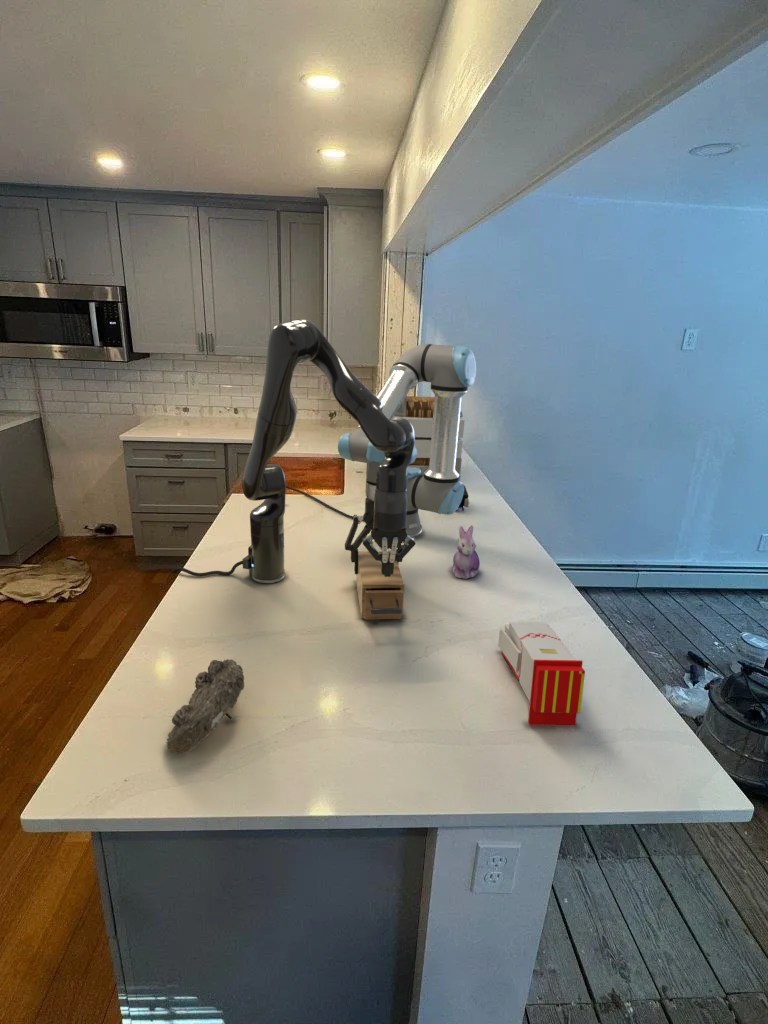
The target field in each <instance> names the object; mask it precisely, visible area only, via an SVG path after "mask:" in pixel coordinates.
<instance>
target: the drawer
mask: <svg viewBox="0 0 768 1024" xmlns="http://www.w3.org/2000/svg"><path fill="white" fill-rule="evenodd" d="M402 601H403V602H404V598H403V591H402V590H398V588H366V591H365V605H364V618H363V619H364V620H365V621H366V620H402V618H403V614H402ZM401 617H402V618H401Z"/></svg>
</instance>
